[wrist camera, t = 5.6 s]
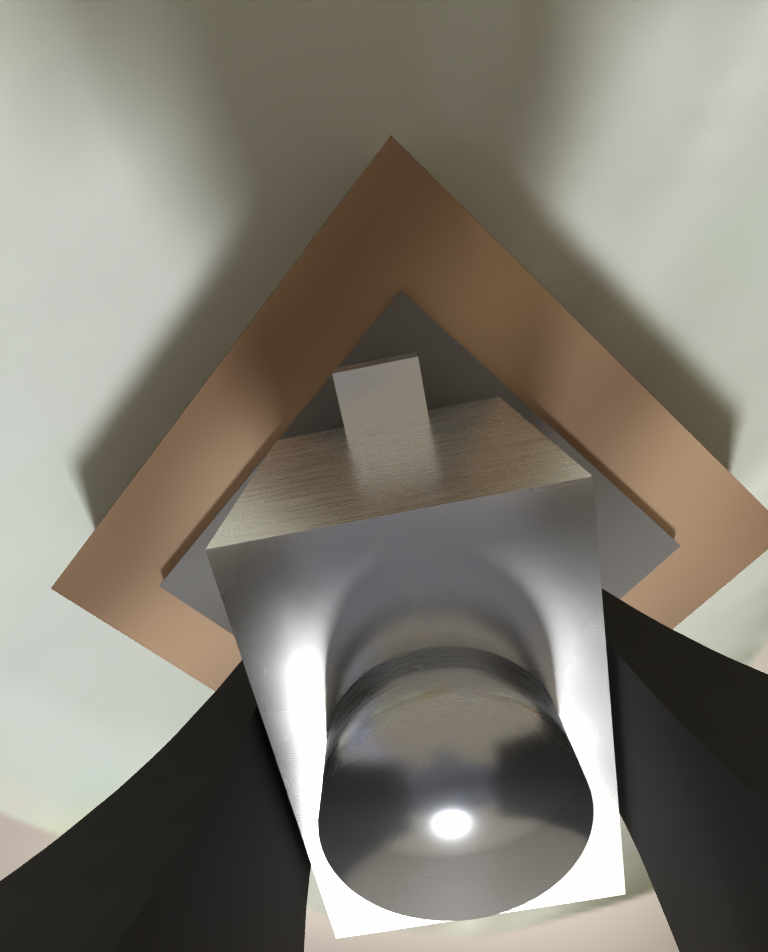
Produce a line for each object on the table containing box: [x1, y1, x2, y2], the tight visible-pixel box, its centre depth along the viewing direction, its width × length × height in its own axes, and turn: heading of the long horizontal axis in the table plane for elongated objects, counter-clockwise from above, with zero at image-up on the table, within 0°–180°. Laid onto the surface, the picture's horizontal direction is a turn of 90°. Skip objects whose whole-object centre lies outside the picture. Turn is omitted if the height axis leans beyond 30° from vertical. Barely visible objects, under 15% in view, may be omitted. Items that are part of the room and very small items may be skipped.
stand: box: [51, 136, 768, 691], centre depth 15 cm, size 13×13×3 cm
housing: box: [205, 352, 625, 938], centre depth 9 cm, size 5×9×6 cm, turn 11°
